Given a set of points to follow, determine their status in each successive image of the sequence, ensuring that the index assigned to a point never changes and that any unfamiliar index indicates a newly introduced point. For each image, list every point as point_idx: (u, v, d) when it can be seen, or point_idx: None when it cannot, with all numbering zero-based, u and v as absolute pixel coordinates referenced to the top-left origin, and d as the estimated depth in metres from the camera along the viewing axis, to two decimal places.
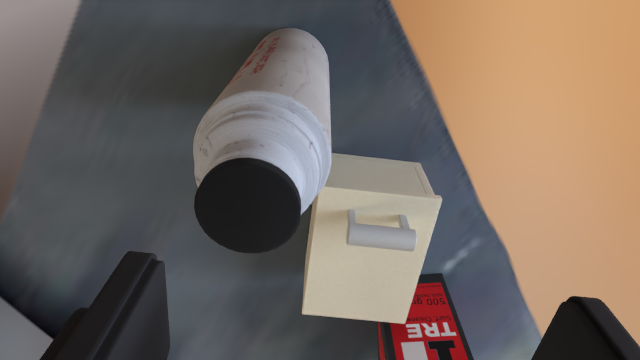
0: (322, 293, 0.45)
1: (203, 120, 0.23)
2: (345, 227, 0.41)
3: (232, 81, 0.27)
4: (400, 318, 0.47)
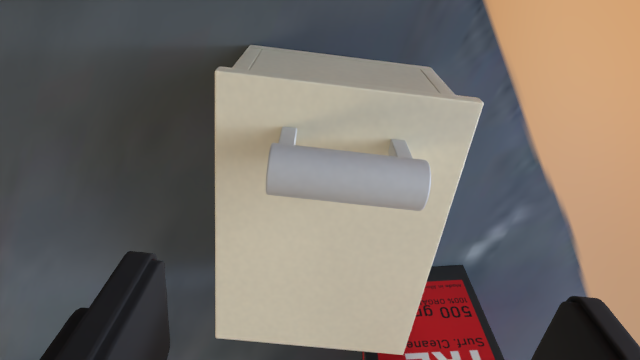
0: (248, 301, 0.24)
1: None
2: None
3: None
4: (395, 345, 0.26)
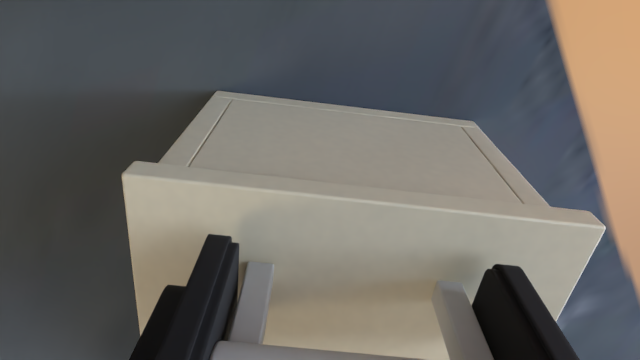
0: None
1: None
2: None
3: None
4: None
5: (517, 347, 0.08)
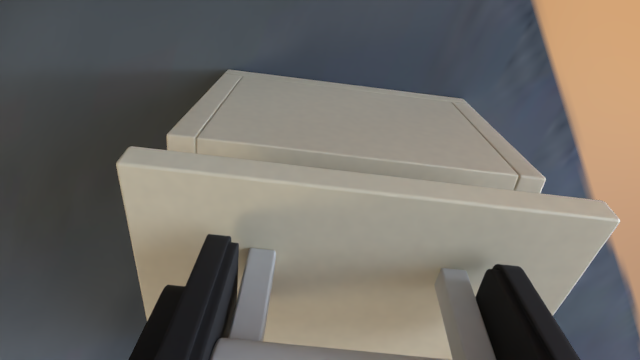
0: None
1: None
2: None
3: None
4: None
5: (518, 347, 0.08)
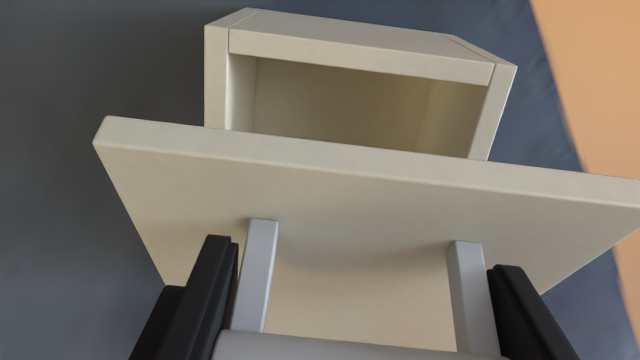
0: None
1: None
2: None
3: None
4: None
5: (518, 347, 0.08)
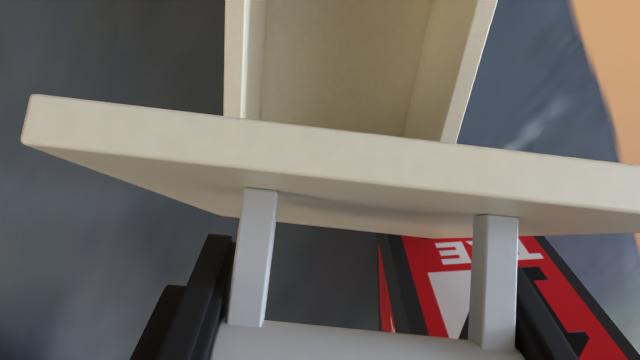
0: None
1: None
2: None
3: None
4: (425, 237, 0.22)
5: (516, 347, 0.08)
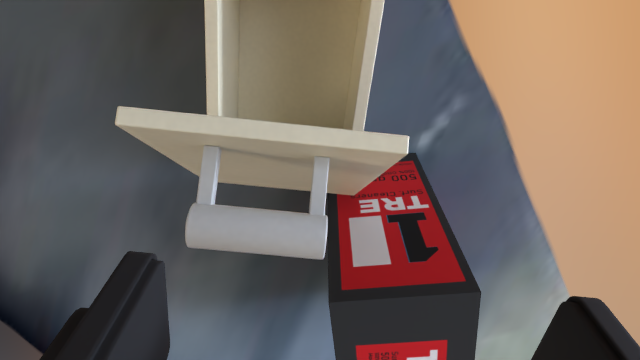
0: (222, 177, 0.30)
1: None
2: None
3: None
4: (346, 193, 0.32)
5: None
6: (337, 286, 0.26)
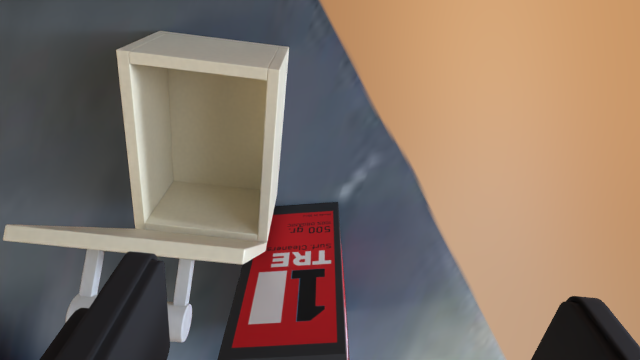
0: None
1: None
2: None
3: None
4: None
5: None
6: (228, 343, 0.30)
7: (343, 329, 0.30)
